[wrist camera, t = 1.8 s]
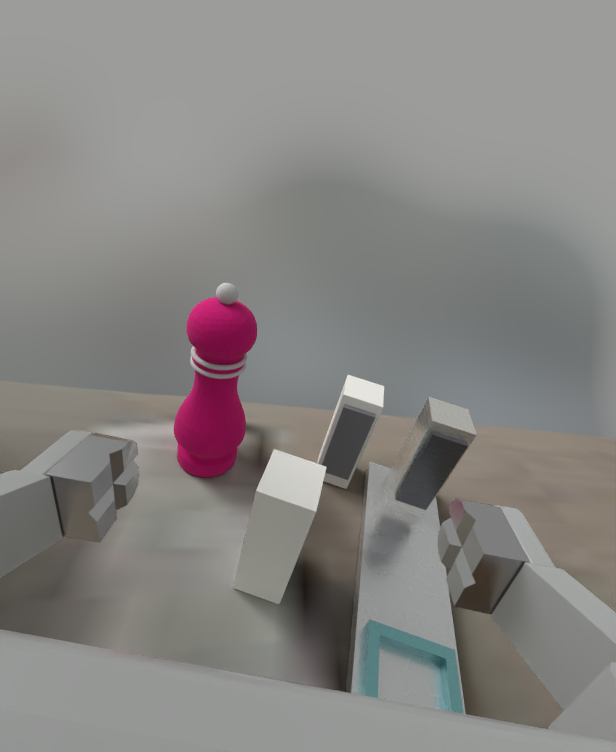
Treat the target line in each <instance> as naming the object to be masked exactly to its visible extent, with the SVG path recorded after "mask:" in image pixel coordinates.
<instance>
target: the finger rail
mask: <svg viewBox="0 0 616 752" xmlns="http://www.w3.org/2000/svg"><path fill="white" fill-rule="evenodd" d="M475 437H476V432H475V429H474V426H473V423H472V420H471V416H470V414H469V411H468V409H465V408H462V407H459V406H456V405H452V404H449V403H446V402H443V401H440V400H437V399H434V398H431V397H428V398H427V400H426V402H425V404H424V406H423V408H422V410H421V412H420V414H419V416H418V417H417V419H416V421H415V423H414V425H413V427H412V429H411V431H410V433H409V435H408V437H407V438H406V440H405V442H404V444H403V446H402V448H401V450H400V452H399V454H398V456H397V458H396V460H395V461H394V463H393V465H392V467H391V468H388V467H385V466H382V465H379V464H376V463H373V462H369V464H368V466H367V468H366V473H365V484H364V495H363V506H362V517H361V528H360V538H359V549H358V560H357V571H356V582H355V593H354V604H353V615H352V626H351V637H350V648H349V658H348V669H347V680H346V691H345V692H347V693H353V694H358V695H364V696H369V697H374V698H380V699H385V700H391V701H396V702H402V703H407V704H413V705H418V706H424V707H429V708H434V709H440V710H445V711H451V712H456V713H462V714H466V713H465V705H464V698H463V691H462V683H461V676H460V669H459V662H458V654H457V647H456V640H455V632H454V625H453V618H452V611H451V603H450V596H449V589H448V584H447V581H446V578H447V574H446V567H445V566H444V564H443V563H442V562H441V560H440V556H439V553H438V544H437V543H438V533H439V530H440V523H439V516H438V508H437V501H436V496H437V494H438V493H439V491H440V490H441V488H442V487H443V485H444V484H445V482H446V481H447V479H448V478H449V476H450V475H451V473H452V472H453V470H454V469H455V467H456V466H457V464H458V463H459V461H460V460H461V458H462V456H463V455H464V453H465V452H466V450H467V449H468V447H469V446H470V444H471V443H472V441H473V440H474V438H475Z"/></svg>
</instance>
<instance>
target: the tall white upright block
mask: <svg viewBox="0 0 616 752" xmlns="http://www.w3.org/2000/svg"><path fill="white" fill-rule="evenodd" d="M325 472H326V467H325V466H323V465H320V464H317V463H314V462H311V461H308V460H305V459H302V458H299V457H296V456H293V455H290V454H287V453H284V452H281V451H278V450H275V449H274V451H273V453H272V455H271V458H270V460H269V462H268V465H267V467H266V469H265V471H264V474H263V476H262V478H261V481H260V483H259V485H258V487H257V490H256V493H255V497H254V501H253V505H252V509H251V513H250V518H249V522H248V526H247V530H246V534H245V538H244V542H243V547H242V551H241V555H240V559H239V563H238V567H237V571H236V576H235V580H234V584H233V588H235V589H237V590H240V591H243V592H246V593H248V594H251V595H254V596H257V597H259V598H262V599H265V600H268V601H270V602H273V603H276V604H280V602H281V599H282V597H283V594H284V592H285V589H286V587H287V584H288V582H289V579H290V577H291V574H292V572H293V569H294V567H295V564H296V562H297V559H298V557H299V554H300V551H301V549H302V546H303V544H304V541H305V539H306V536H307V534H308V531H309V529H310V526H311V524H312V521H313V519H314V516H315V514H316V511H317V506H318V502H319V498H320V493H321V489H322V485H323V480H324V476H325Z"/></svg>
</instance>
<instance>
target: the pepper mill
mask: <svg viewBox="0 0 616 752" xmlns="http://www.w3.org/2000/svg"><path fill="white" fill-rule="evenodd" d="M216 296H217V297H215V298H209V299H206V300H204V301H201V302H200V303H199V304H197V305H196V306H195V307H194V308H193V310H192V311H191V313H190V315H189V318H188V321H187V334H188V338H189V341H190V342H191V344H192V345H193V347H192V349H191V355H192V356H191V359H190V362H191V365H192V367H193V368H194V369H195V380H194V386H193V388H192V391H191V393H190V394H189V396H188V397H187V398H186V399H185V401H184V402H183V404H182V405H181V407H180V409H179V411H178V413H177V415H176V418H175V424H174V434H175V438H176V440H177V442H178V453H177V458H178V462H179V464H180V466H181V467H182V468H183V469H184V470H185V471H186V472H188V473H190V474H192V475H195V476H199V477H214V476H219V475H221V474H223V473H225V472H226V471H228V470H229V469H230V468H231V467H232V466H233V464H234V462H235V459H236V454H237V447H238V446H239V445H240V443H241V442H242V440H243V438H244V435H245V427H246V421H245V415H244V411H243V408H242V405H241V403H240V400H239V396H238V393H237V381H238V377H239V375H240V374H241V373H243V372H244V370H245V368H246V360H247V354H246V353H247V352H248V351H249V350H250V349H251V348H252V346H253V345H254V343H255V340H256V337H257V324H256V320H255V318H254V315H253V314H252V312H251V311H250V310H249V309H248V308H247V307H246V306H245V305H243V304H242V303H240V302H238V301H236V300H237V297H238V292H237V289H236V287H235V286H234V285H232V284H230V283H223V284H221V285H220V286H219V287H218V288H217V291H216Z"/></svg>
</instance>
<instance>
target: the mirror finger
mask: <svg viewBox="0 0 616 752" xmlns="http://www.w3.org/2000/svg"><path fill="white" fill-rule="evenodd" d="M383 395H384V386H381V385H378V384H375V383H372V382H369V381H366V380H363V379H360V378H357V377H354V376H350V375H347V378H346V381H345V384H344V387H343V389H342V392H341V395H340V398H339V401H338V404H337V407H336V409H335V412H334V415H333V418H332V420H331V423H330V426H329V429H328V432H327V434H326V437H325V440H324V443H323V446H322V448H321V451H320V454H319V458H318V461H317V464H320V465H323V466H325V467H326V472H325V476H324V480H323V481H324V482H327V483H330V484H333V485H336V486H338V487H341V488H344V489H347V487H348V485H349V483H350V480H351V478H352V476H353V474H354V471H355V469H356V467H357V465H358V462H359V460H360V458H361V456H362V454H363V451H364V449H365V447H366V445H367V442H368V440H369V438H370V436H371V433H372V431H373V429H374V427H375V424H376V422H377V420H378V418H379V415H380V413H381V411H382V409H383V397H384V396H383Z"/></svg>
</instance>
